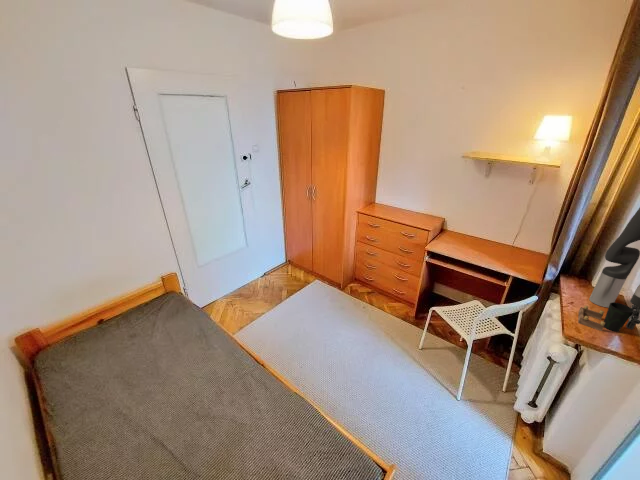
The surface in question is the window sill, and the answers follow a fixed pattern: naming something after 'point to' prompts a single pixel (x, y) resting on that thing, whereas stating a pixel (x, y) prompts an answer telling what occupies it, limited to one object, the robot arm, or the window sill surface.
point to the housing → (593, 314)
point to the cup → (617, 316)
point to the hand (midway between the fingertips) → (629, 328)
